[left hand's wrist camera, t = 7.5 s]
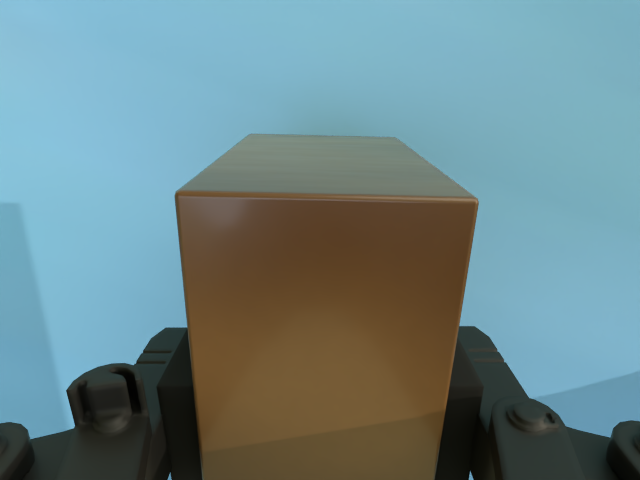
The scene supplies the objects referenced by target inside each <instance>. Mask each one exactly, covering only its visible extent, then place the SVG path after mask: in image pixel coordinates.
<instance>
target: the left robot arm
mask: <svg viewBox="0 0 640 480" xmlns="http://www.w3.org/2000/svg"><path fill="white" fill-rule="evenodd" d="M136 362H137V363H136V364H134V365H130V364H126V363H116V364H108V365H104V366H100V367H97V368H95V369H92V370H90V371H88V372H86V373H84V374H82V375H81V376H80V377H78V378H77V379H76V380H74V381H73V382H72V383H71V385H70V386H69V388H68V389H67V390H66V392H67V396H68V399H69V403H70V407H71V411H72V415H73V419H74V423H75V427H74V429H70V430H67V431H64V432H60V433H56V434H51V435H47V436H43V437H39V438H34V439H30V437H29V433H28V430H27V429H26V428H25V427H24V426H23V425H21V424H17V423H11V422H7V423H0V480H167V479H168V477H169V474H170V472H171V478H172V480H202V471H201V461H200V451H199V441H198V430H197V420H196V410H195V400H194V390H193V379H192V369H191V359H190V349H189V338H188V328H165V329H163V330H162V331H161V332H159V333H158V334H157V335H155V336H154V337H153V338H151V340H150V341H149V343H148V344H147V346H146V347H145V349H144V350H143V353H142V354H141V355H140V357H139V358H138V360H137V361H136ZM470 471H471V474H472V476H473V479H474V480H640V422H639V421H632V420H631V421H625V422H620V423H619V424H618V425H616V426H615V427H614V428H613V431H612V435H611V438H609V437H605V436H601V435H596V434H592V433H588V432H583V431H579V430H576V429H572V428H569V427H566V426H565V425H564V423H563V421H562V420H561V418H560V417H559V415H558V414H556V413H555V412H554V411H553V410H552V409H550V408H549V407H548V406H546V405H544V404H542V403H540V402H538V401H536V400H534V399H530V398H529V397H528V396H527V394H526V393H525V391H524V390H523V388H522V387H521V385H520V383H519V382H518V380H517V379H516V377H515V376H514V374H513V373H512V371H511V370H510V368H509V367H508V365H507V364H506V363H504V359H503V358H502V356H501V354H500V353H499V352H497V348H496V347H495V345H494V344H493V342H492V341H491V339H490V338H489V337H488V336H487V335H486V334H484V333H483V332H482V331H480V330H479V329H477V328H476V327H475V326H459V329H458V336H457V342H456V348H455V354H454V361H453V367H452V373H451V379H450V386H449V392H448V398H447V405H446V411H445V417H444V423H443V430H442V436H441V442H440V448H439V455H438V461H437V467H436V473H435V480H469V474H470Z"/></svg>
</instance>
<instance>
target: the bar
mask: <svg viewBox="0 0 640 480" xmlns="http://www.w3.org/2000/svg"><path fill="white" fill-rule="evenodd" d="M478 204H479V202H478V198H476V197H475V196H474V195H472V194H471V193H470V192H468V191H467V190H465V189H464V188H463V187H461V186H460V185H459V184H457V183H456V182H455V181H453V180H452V179H451V178H449V177H448V176H447V175H445V174H444V173H443V172H441V171H440V170H439V169H437V168H436V167H435V166H433V165H432V164H431V163H429V162H428V161H427V160H425V159H424V158H423V157H421V156H420V155H419V154H417V153H416V152H415V151H413V150H412V149H411V148H409V147H408V146H406V145H405V144H404V143H402V142H401V141H400V140H398V139H397V138H395V137H362V136H321V135H280V134H249V135H248V136H246V137H245V138H244V139H243V140H241V141H240V142H239V143H237V144H236V145H235V146H234V147H232V148H231V149H230V150H229V151H227V152H226V153H225V154H223V155H222V156H221V157H220V158H218V159H217V160H216V161H214V162H213V163H212V164H211V165H209V166H208V167H207V168H206V169H204V170H203V171H202V172H200V173H199V174H198V175H197V176H195V177H194V178H193V179H191V180H190V181H189V182H188V183H186V184H185V185H184V186H183V187H181V188H180V189H179V190H177V191H176V193H175V206H176V216H177V226H178V236H179V247H180V257H181V267H182V277H183V287H184V298H185V308H186V318H187V328H188V338H189V349H190V359H191V369H192V379H193V390H194V400H195V410H196V420H197V430H198V441H199V451H200V461H201V471H202V480H435V473H436V467H437V461H438V455H439V448H440V442H441V436H442V430H443V423H444V417H445V411H446V405H447V398H448V392H449V386H450V379H451V373H452V367H453V361H454V354H455V348H456V342H457V336H458V329H459V323H460V317H461V311H462V304H463V298H464V292H465V286H466V279H467V273H468V267H469V260H470V254H471V248H472V242H473V235H474V229H475V223H476V217H477V210H478Z"/></svg>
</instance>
